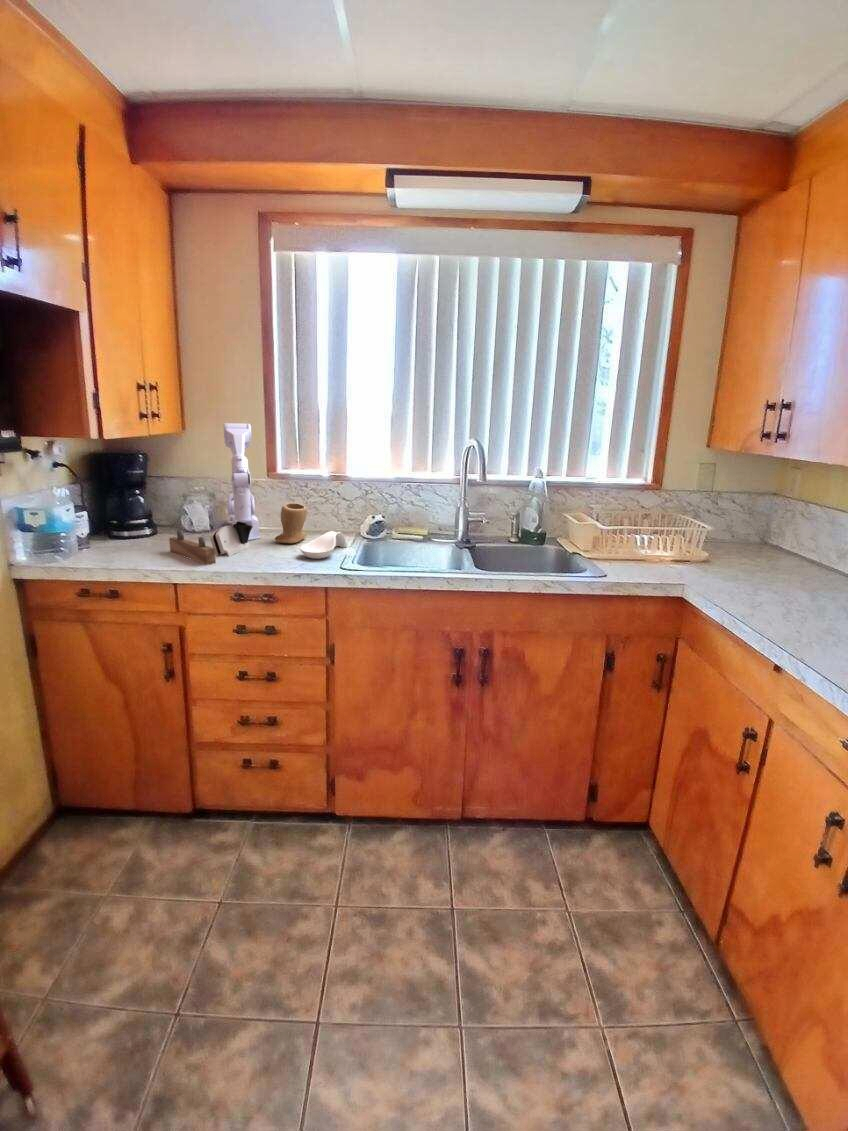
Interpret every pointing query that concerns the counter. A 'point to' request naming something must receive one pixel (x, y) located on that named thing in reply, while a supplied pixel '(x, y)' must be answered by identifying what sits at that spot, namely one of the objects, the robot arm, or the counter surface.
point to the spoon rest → (323, 545)
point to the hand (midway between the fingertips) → (244, 543)
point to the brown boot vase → (292, 523)
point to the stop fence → (192, 549)
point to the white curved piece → (227, 541)
